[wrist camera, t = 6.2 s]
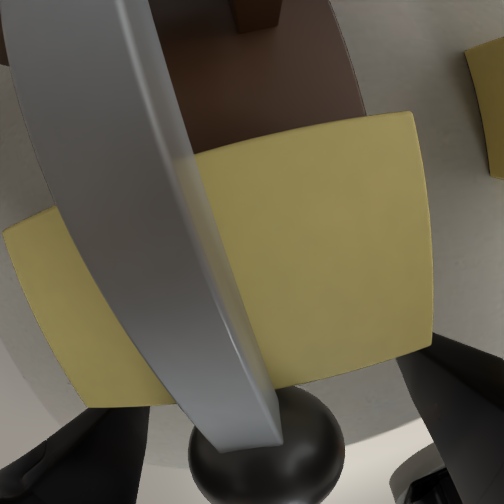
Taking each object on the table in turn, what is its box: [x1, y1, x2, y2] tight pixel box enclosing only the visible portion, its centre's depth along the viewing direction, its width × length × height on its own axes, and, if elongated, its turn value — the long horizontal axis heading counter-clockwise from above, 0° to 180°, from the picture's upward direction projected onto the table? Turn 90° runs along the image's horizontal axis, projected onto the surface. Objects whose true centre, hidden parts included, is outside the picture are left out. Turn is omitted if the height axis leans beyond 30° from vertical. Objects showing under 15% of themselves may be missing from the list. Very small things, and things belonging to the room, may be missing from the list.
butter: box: [2, 111, 433, 408], centre depth 7 cm, size 4×7×4 cm, turn 104°
